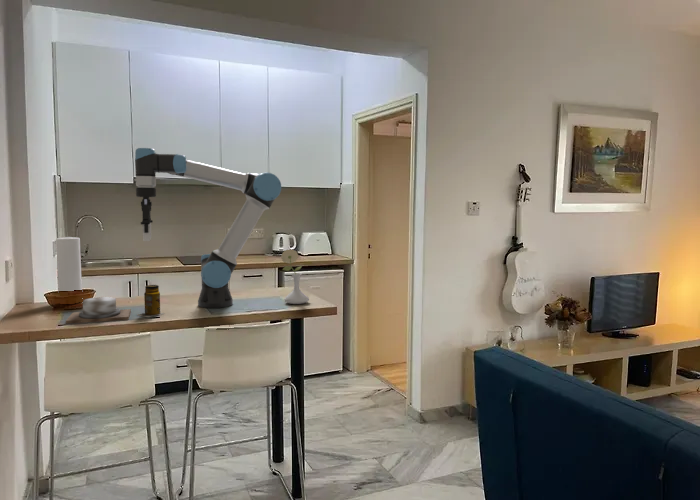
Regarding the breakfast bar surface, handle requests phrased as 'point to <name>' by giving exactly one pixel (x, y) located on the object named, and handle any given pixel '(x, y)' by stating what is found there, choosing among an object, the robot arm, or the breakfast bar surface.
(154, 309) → the condiment
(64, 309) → the breakfast bar surface
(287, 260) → the flower in vase
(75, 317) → the duct base
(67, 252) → the cylinder container
